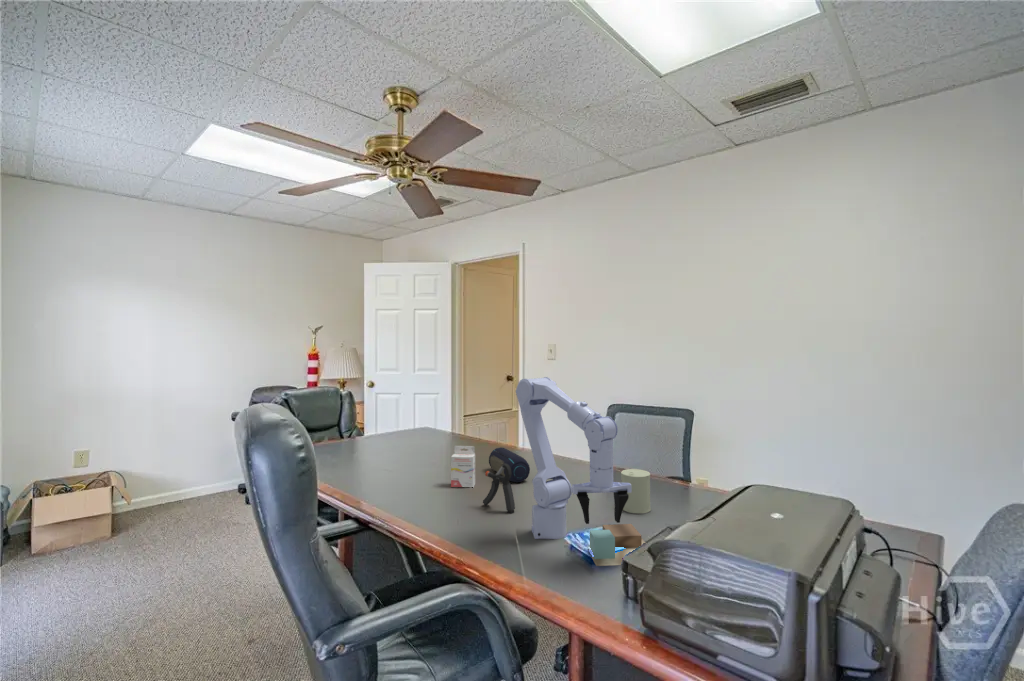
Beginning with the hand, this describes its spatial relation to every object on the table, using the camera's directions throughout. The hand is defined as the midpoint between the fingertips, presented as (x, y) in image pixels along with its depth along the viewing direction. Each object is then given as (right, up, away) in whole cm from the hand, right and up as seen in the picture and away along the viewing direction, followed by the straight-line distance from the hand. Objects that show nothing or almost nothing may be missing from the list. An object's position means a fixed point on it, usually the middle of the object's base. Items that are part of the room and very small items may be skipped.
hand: (602, 521), depth 118 cm
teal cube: (0, -8, 0) cm, 8 cm away
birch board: (+5, -9, +3) cm, 11 cm away
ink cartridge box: (-41, -10, +61) cm, 74 cm away
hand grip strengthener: (-27, -10, +36) cm, 46 cm away
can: (+17, -9, +35) cm, 41 cm away
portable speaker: (-24, -10, +74) cm, 79 cm away
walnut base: (+6, -9, +7) cm, 13 cm away
